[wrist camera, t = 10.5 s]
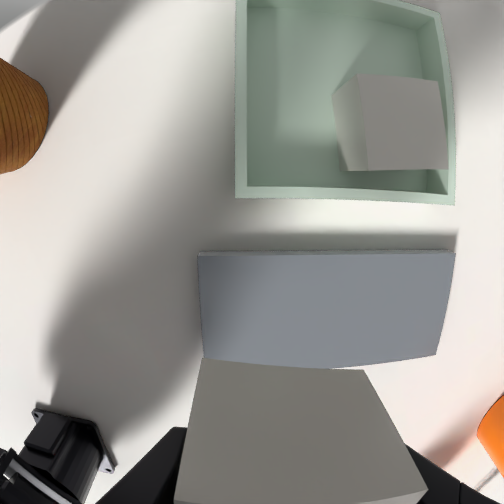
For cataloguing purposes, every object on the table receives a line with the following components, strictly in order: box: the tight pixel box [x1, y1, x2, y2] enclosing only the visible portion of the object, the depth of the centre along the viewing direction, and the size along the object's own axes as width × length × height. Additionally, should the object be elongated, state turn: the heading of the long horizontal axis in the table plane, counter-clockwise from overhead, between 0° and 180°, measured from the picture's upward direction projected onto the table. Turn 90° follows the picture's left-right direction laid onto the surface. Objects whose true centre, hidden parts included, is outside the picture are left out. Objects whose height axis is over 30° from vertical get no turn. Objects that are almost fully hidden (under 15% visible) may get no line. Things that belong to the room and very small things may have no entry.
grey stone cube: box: [174, 358, 428, 504], centre depth 6 cm, size 4×4×4 cm
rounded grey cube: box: [331, 74, 449, 171], centre depth 13 cm, size 4×4×4 cm
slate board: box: [198, 250, 456, 369], centre depth 18 cm, size 7×15×1 cm, turn 91°
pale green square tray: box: [235, 0, 456, 206], centre depth 14 cm, size 11×11×3 cm
